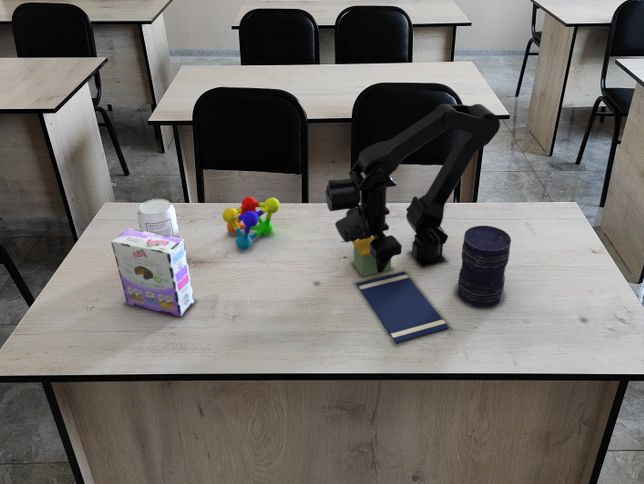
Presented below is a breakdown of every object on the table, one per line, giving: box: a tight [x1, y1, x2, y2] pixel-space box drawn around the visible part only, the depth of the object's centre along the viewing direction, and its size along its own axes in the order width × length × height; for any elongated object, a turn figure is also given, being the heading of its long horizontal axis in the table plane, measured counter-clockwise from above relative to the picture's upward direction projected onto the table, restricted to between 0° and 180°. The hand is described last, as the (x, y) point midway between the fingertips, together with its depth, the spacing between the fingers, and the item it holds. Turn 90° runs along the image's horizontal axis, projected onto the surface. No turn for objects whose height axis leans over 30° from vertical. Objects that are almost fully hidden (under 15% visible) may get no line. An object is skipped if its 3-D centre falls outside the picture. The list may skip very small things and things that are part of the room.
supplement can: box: [137, 198, 181, 239], centre depth 141 cm, size 8×8×15 cm
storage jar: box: [457, 225, 512, 309], centre depth 130 cm, size 10×10×15 cm
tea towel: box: [356, 271, 450, 344], centre depth 130 cm, size 12×21×1 cm, turn 22°
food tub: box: [352, 236, 392, 277], centre depth 141 cm, size 8×6×6 cm
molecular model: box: [222, 196, 281, 251], centre depth 148 cm, size 15×12×15 cm
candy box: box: [110, 227, 195, 317], centre depth 127 cm, size 14×6×16 cm, turn 71°
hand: (372, 261), depth 142 cm, fingers open, 9 cm apart
